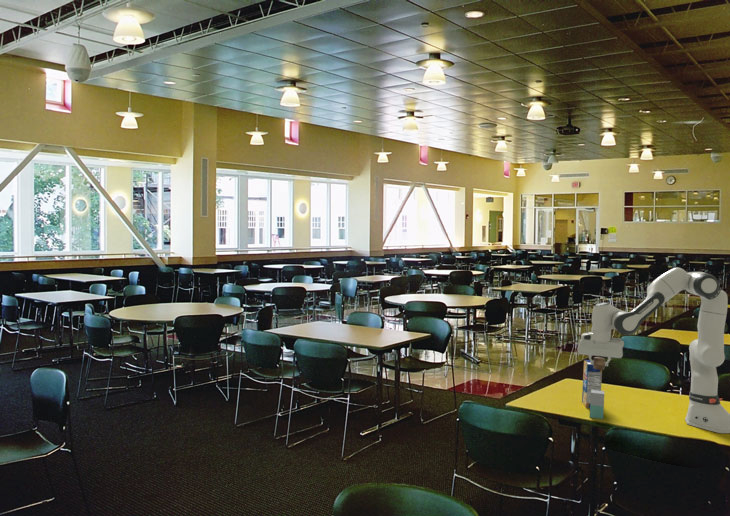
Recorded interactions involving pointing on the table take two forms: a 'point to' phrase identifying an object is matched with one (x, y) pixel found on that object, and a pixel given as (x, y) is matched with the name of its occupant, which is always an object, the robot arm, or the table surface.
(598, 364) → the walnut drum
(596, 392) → the tower top
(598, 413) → the tower base
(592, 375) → the beverage box
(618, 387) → the table surface
